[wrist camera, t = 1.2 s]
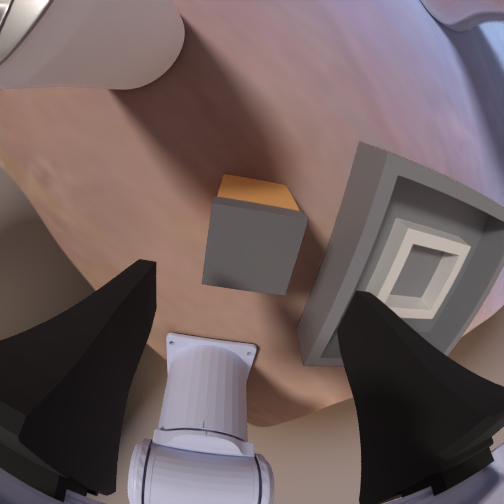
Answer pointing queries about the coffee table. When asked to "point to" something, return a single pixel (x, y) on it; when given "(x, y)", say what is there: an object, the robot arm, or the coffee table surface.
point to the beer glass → (465, 12)
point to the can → (87, 43)
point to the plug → (253, 236)
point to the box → (404, 254)
